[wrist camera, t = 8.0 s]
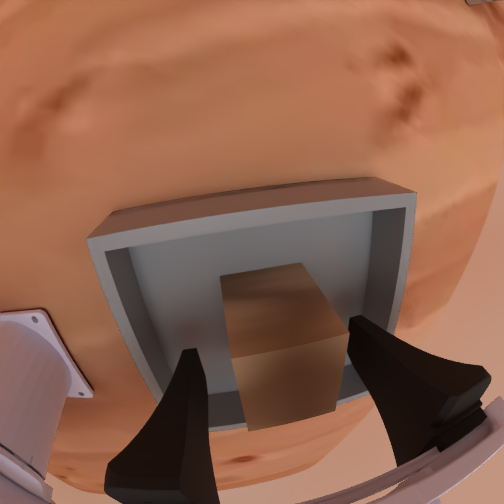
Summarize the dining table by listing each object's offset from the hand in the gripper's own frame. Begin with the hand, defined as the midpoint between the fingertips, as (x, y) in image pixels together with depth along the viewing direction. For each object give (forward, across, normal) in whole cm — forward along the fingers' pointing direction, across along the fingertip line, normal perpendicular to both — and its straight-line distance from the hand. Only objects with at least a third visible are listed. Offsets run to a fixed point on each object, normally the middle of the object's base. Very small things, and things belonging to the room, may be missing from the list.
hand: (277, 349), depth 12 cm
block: (+3, 0, 0) cm, 3 cm away
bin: (+3, 0, 0) cm, 3 cm away
